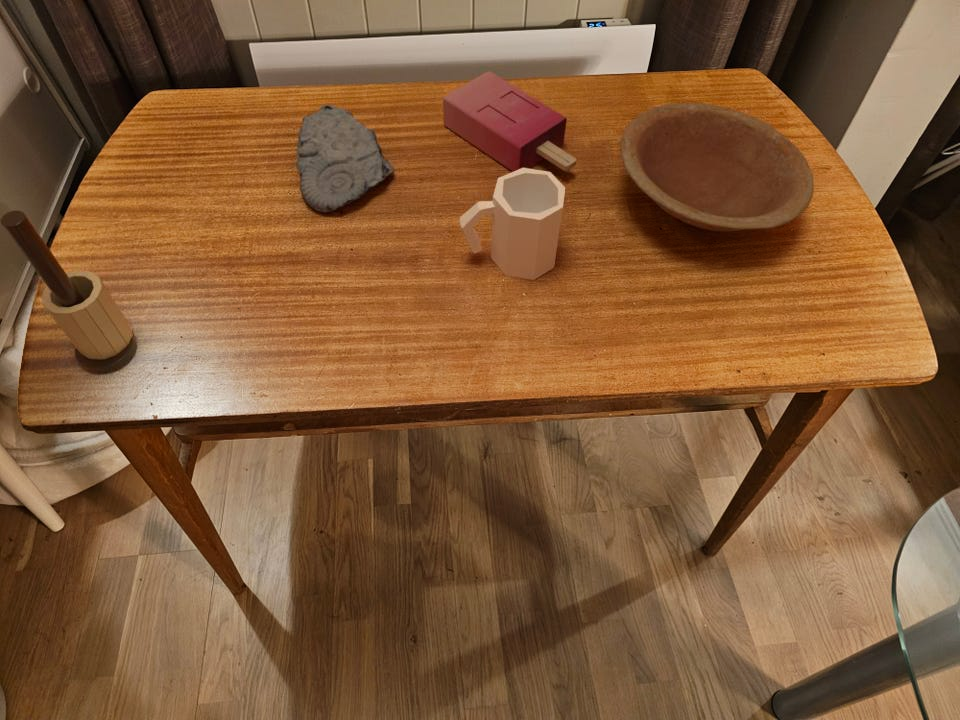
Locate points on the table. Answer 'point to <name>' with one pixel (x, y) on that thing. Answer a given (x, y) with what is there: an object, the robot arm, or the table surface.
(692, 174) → the bowl
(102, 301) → the faceted pencil cup
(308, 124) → the fossil
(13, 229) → the stand
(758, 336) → the table surface
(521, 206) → the mug
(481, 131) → the popsicle
